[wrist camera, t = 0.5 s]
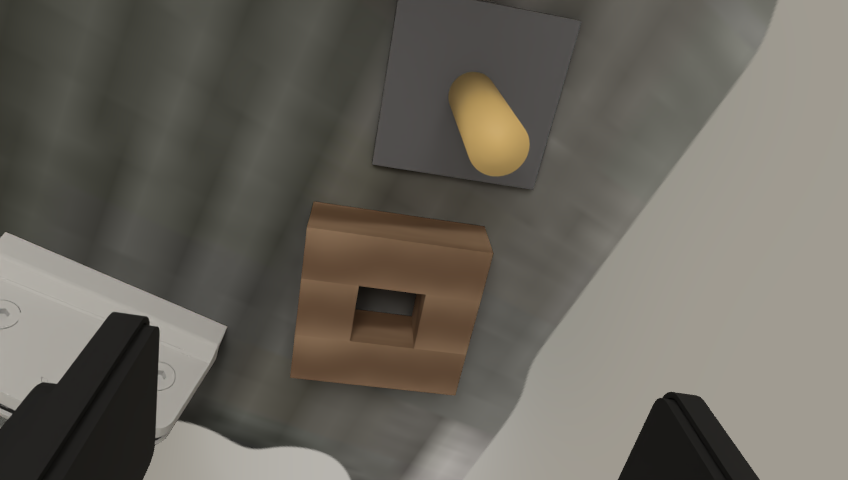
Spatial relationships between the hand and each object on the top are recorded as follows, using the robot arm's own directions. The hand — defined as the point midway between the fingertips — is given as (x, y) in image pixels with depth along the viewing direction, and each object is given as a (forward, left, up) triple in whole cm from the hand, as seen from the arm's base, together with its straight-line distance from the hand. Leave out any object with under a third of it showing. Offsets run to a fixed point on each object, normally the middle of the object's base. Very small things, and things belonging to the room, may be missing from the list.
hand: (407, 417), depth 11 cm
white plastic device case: (+21, -18, -30) cm, 41 cm away
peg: (0, +5, -29) cm, 30 cm away
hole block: (+15, +2, -30) cm, 34 cm away
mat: (0, +5, -30) cm, 30 cm away
